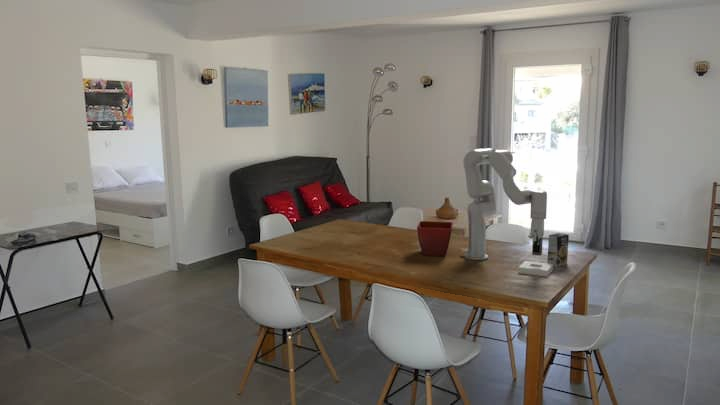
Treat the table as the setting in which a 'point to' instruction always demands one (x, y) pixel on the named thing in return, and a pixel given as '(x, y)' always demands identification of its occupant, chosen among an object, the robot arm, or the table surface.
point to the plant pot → (434, 237)
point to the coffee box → (558, 249)
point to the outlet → (535, 268)
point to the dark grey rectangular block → (540, 248)
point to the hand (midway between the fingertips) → (537, 251)
